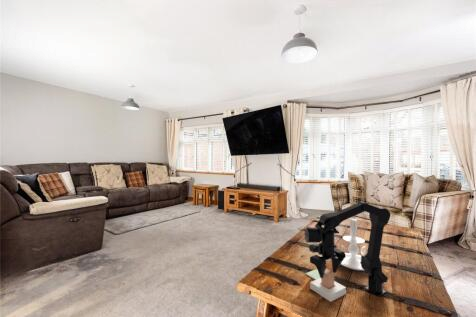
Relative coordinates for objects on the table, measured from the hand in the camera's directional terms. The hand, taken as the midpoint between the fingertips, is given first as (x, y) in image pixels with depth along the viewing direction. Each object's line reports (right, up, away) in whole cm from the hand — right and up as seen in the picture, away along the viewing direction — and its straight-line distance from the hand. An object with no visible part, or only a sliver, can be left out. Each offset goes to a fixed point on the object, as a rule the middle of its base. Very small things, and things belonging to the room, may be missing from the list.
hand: (328, 275), depth 98 cm
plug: (0, -7, 0) cm, 7 cm away
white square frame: (0, -7, 0) cm, 7 cm away
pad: (0, -8, +13) cm, 15 cm away
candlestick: (+27, -8, +25) cm, 38 cm away
